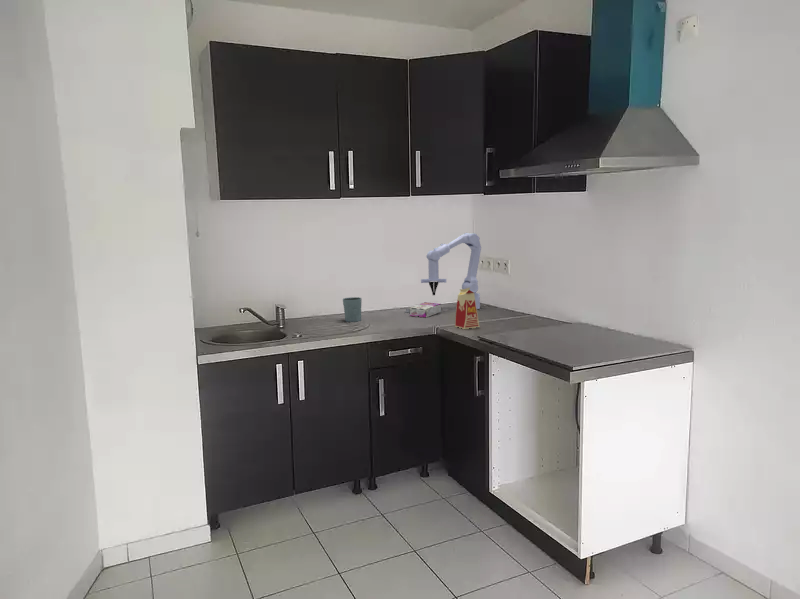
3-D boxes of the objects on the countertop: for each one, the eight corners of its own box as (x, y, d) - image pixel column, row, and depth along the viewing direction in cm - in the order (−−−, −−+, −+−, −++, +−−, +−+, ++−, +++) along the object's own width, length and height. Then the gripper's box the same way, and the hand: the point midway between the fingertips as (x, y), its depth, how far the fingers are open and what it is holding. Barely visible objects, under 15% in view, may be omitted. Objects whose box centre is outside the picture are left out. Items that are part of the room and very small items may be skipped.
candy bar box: (425, 310, 337) (409, 316, 324) (424, 302, 336) (408, 307, 323) (441, 312, 331) (426, 318, 318) (441, 303, 330) (425, 308, 317)
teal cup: (357, 322, 309) (356, 300, 307) (340, 321, 312) (339, 299, 310) (365, 319, 318) (364, 297, 316) (348, 318, 321) (347, 296, 320)
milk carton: (479, 327, 288) (479, 287, 285) (464, 329, 283) (464, 288, 280) (468, 324, 296) (468, 285, 293) (453, 326, 291) (453, 286, 288)
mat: (431, 309, 345) (431, 308, 344) (431, 313, 332) (431, 312, 332) (406, 309, 346) (406, 308, 346) (404, 313, 333) (404, 312, 333)
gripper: (420, 272, 331) (420, 296, 333) (446, 272, 330) (446, 295, 332) (421, 271, 338) (421, 294, 340) (446, 270, 337) (446, 294, 339)
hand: (433, 295), depth 337 cm, fingers closed
